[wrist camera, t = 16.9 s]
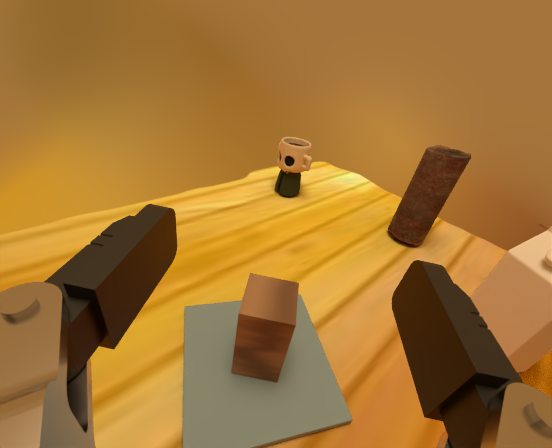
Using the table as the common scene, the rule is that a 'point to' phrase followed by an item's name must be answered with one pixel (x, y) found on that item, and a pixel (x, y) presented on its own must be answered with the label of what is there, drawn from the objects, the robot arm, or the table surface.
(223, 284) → the table surface
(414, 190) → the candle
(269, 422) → the slate-blue mat
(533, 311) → the milk carton
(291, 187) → the character mug
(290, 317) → the walnut block
